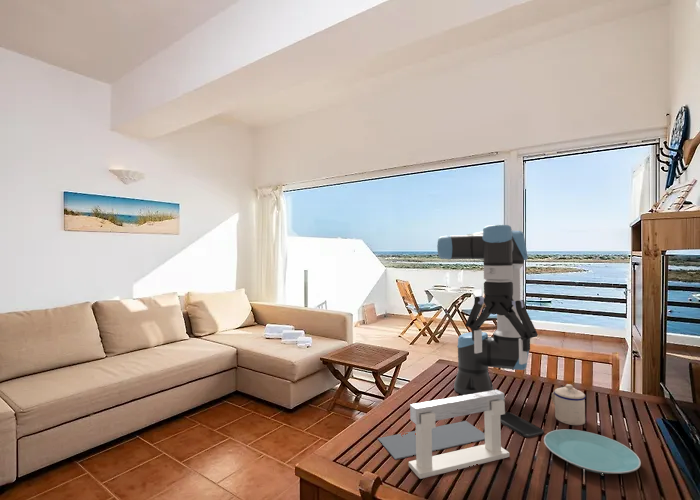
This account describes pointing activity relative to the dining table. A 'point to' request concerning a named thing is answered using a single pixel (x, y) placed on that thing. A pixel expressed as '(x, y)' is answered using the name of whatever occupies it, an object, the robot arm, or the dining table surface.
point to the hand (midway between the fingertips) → (499, 357)
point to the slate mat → (433, 439)
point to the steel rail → (455, 405)
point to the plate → (592, 451)
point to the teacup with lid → (569, 405)
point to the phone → (520, 425)
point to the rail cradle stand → (460, 458)
